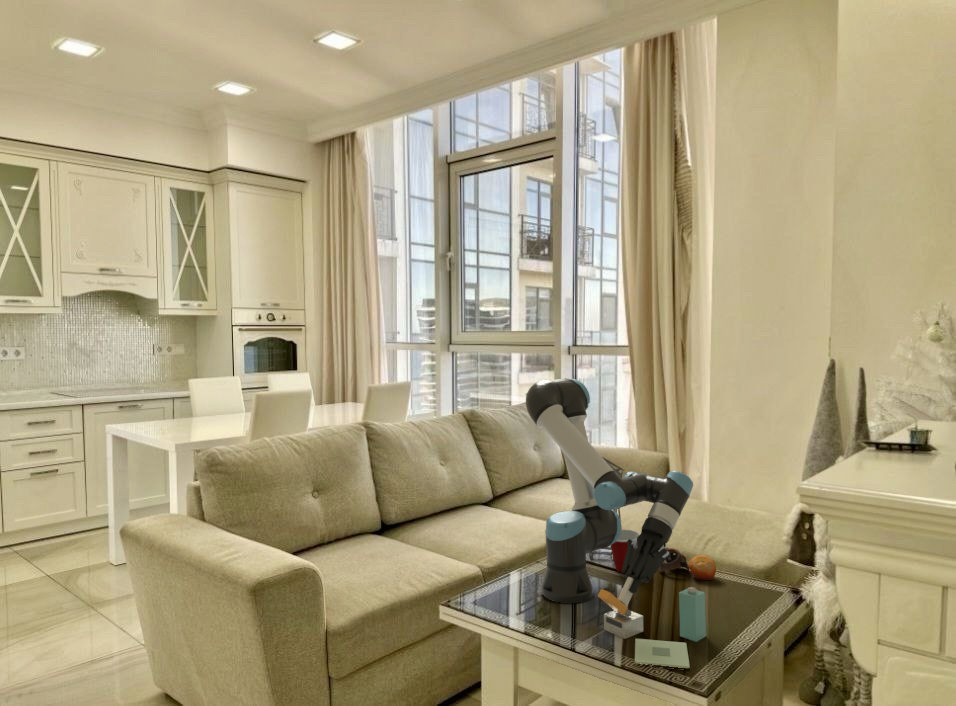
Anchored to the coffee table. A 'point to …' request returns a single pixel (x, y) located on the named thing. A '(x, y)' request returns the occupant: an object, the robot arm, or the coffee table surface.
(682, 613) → the teal tall block
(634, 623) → the box
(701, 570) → the fruit
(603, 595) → the lever
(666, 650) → the pad
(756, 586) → the coffee table surface
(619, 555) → the plastic cup
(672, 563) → the pottery mug
